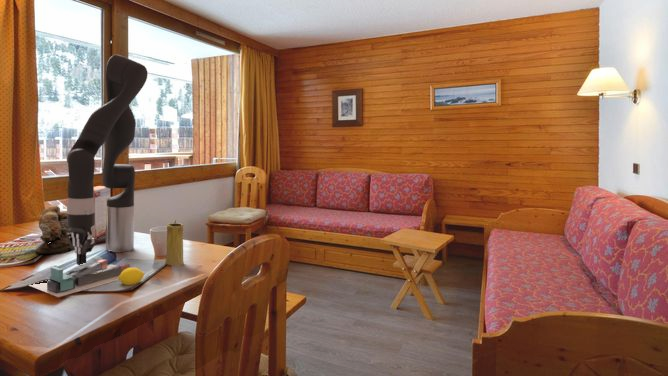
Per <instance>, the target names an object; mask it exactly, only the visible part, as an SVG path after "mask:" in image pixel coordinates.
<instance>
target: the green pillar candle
mask: <svg viewBox="0 0 668 376" xmlns="http://www.w3.org/2000/svg"><path fill="white" fill-rule="evenodd" d="M165 265H168V266H183V265H184V225H183V223H178V222H177V223H176V222H175V223H167V224H166V253H165Z"/></svg>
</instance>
